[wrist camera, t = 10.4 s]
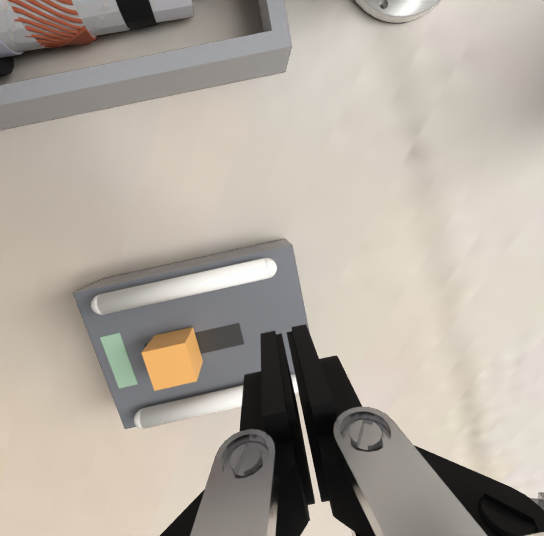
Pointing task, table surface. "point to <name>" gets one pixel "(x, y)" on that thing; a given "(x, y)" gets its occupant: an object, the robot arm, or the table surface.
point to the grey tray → (151, 74)
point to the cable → (75, 22)
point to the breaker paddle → (173, 359)
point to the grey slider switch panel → (194, 325)
